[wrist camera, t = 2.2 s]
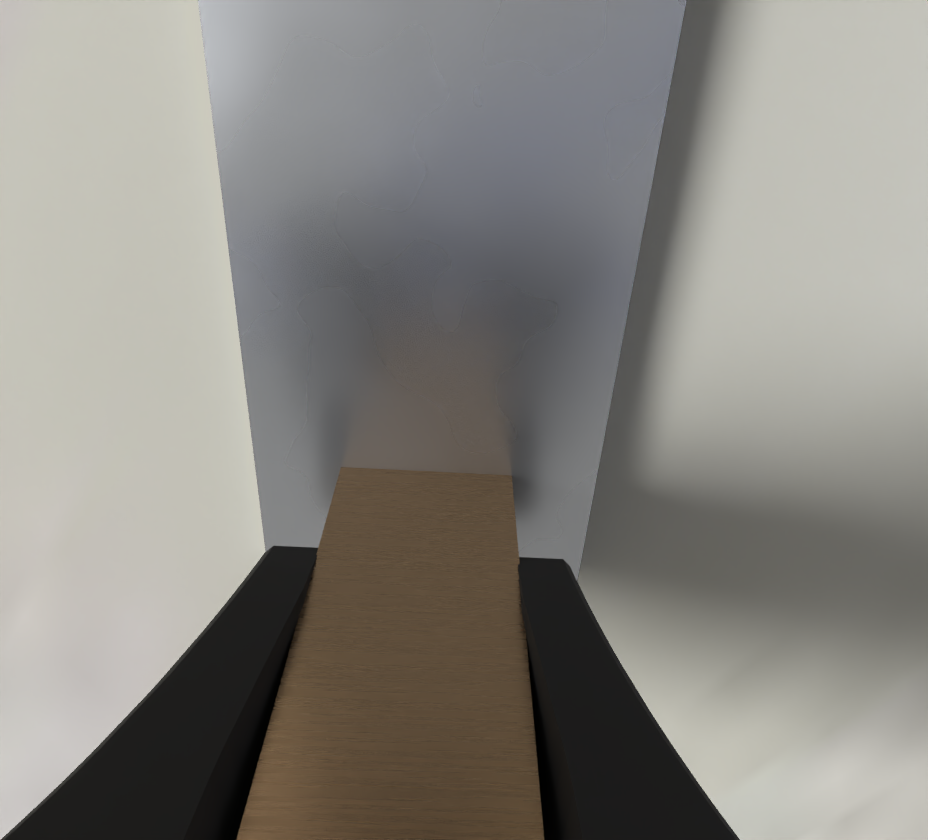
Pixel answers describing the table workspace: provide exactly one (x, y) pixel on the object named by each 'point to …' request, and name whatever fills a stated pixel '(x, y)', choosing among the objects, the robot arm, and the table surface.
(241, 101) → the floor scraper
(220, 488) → the table surface
